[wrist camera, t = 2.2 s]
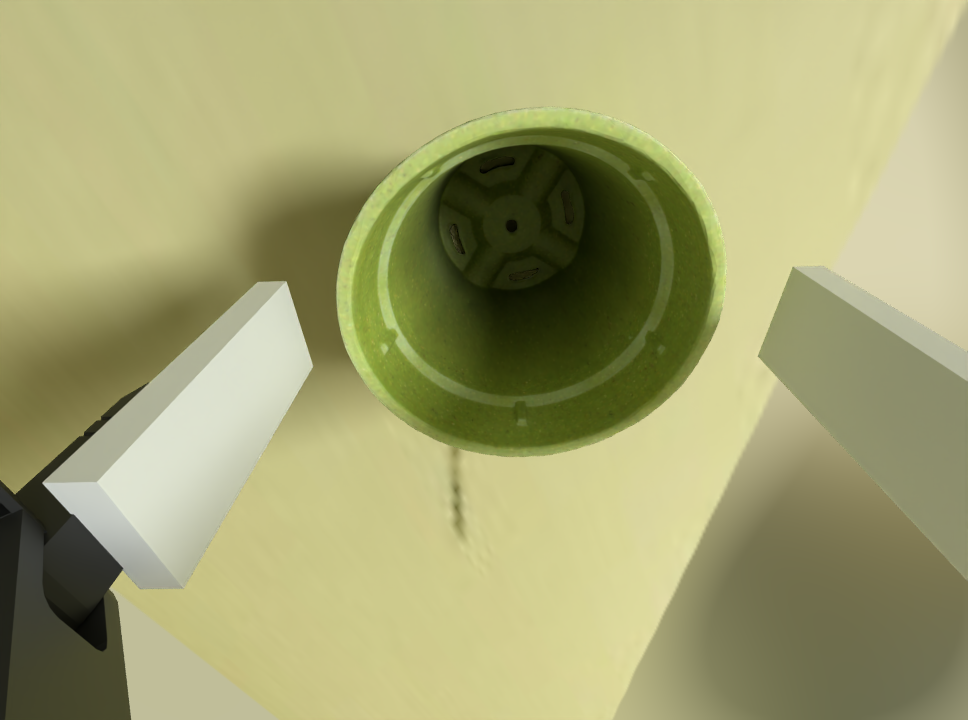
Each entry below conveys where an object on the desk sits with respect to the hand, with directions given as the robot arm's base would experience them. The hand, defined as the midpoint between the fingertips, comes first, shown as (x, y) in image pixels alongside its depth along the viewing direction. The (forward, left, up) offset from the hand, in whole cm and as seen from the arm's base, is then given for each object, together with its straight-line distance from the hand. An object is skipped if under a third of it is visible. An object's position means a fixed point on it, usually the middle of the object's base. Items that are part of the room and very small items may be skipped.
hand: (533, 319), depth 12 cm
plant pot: (0, 0, -8) cm, 8 cm away
